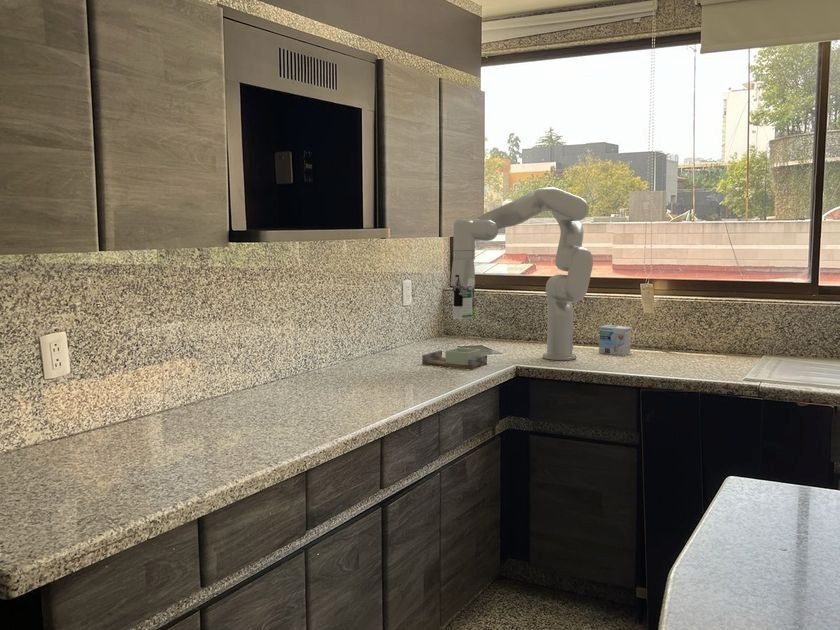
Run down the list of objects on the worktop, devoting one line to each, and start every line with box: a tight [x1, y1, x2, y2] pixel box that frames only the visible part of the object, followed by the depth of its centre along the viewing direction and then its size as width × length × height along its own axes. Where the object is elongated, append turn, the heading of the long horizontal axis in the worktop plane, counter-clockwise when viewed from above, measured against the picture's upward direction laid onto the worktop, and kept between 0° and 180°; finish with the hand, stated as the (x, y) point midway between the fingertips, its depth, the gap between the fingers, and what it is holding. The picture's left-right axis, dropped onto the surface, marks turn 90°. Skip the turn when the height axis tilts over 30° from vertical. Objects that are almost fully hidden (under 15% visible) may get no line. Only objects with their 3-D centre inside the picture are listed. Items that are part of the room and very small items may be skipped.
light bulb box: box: [598, 324, 632, 356], centre depth 301 cm, size 11×7×11 cm, turn 55°
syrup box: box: [452, 278, 475, 321], centre depth 272 cm, size 6×6×14 cm
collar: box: [445, 347, 482, 365], centre depth 275 cm, size 9×9×4 cm
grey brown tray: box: [421, 350, 488, 371], centre depth 277 cm, size 12×20×4 cm, turn 59°
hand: (463, 304), depth 272 cm, fingers closed on syrup box, 7 cm apart
